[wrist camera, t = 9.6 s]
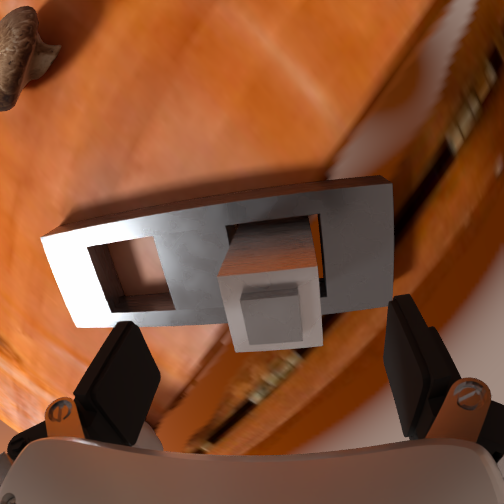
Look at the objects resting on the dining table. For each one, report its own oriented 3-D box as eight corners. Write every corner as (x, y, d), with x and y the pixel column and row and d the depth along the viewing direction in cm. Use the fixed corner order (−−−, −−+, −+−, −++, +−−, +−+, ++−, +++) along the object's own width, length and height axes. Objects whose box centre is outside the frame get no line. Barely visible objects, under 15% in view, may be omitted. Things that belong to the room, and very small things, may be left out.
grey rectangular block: (241, 218, 21) (213, 283, 13) (306, 210, 20) (318, 273, 12) (252, 275, 22) (233, 360, 15) (313, 269, 22) (323, 354, 14)
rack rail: (90, 311, 26) (76, 327, 23) (58, 226, 23) (40, 237, 20) (382, 286, 22) (391, 305, 19) (380, 175, 19) (392, 183, 16)
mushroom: (75, 41, 14) (-19, 41, 9) (47, 129, 19) (-28, 137, 15) (69, -5, 15) (-2, -7, 11) (42, 70, 21) (-19, 74, 16)
